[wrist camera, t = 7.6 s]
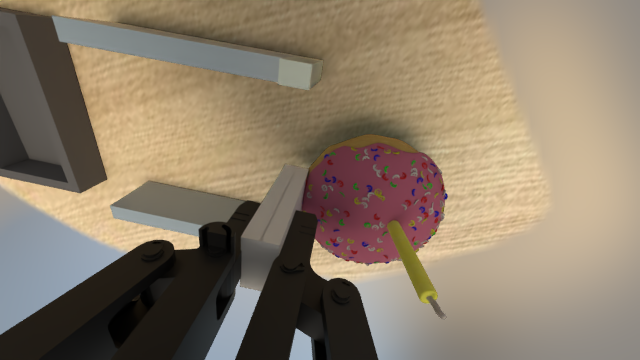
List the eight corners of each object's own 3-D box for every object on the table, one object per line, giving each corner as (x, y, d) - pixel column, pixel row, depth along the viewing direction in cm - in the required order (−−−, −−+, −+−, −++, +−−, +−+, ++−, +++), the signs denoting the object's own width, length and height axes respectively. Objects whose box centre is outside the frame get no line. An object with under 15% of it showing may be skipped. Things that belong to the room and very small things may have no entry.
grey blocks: (116, 22, 16) (38, 14, 12) (323, 60, 16) (312, 64, 12) (151, 192, 23) (107, 222, 19) (299, 223, 22) (286, 261, 18)
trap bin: (-45, -1, 17) (-103, -8, 15) (59, 18, 17) (14, 14, 15) (30, 163, 23) (-5, 175, 21) (106, 179, 23) (80, 193, 21)
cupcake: (411, 99, 16) (515, 192, 6) (434, 204, 20) (526, 383, 9) (294, 139, 19) (215, 258, 8) (332, 227, 22) (311, 391, 11)
